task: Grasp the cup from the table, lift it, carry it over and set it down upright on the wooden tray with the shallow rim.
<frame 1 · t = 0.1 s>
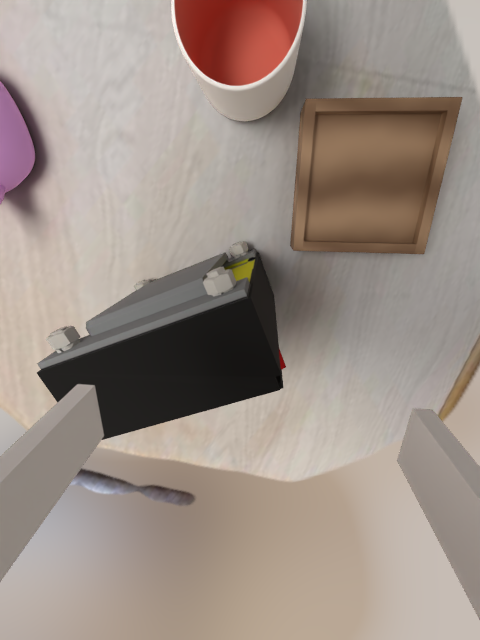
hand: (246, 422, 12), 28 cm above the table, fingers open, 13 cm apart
wooden tray: (356, 185, 33), on the table
cup: (246, 69, 30), on the table
electrical component: (206, 295, 40), on the table
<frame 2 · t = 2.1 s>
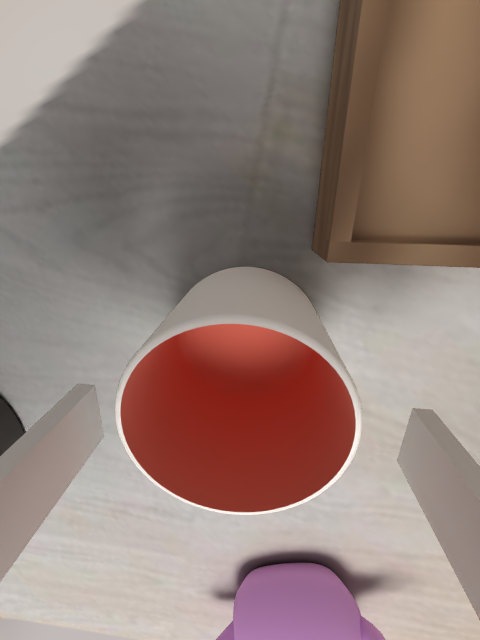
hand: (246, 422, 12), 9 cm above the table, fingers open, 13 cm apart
wooden tray: (458, 121, 15), on the table
cup: (246, 330, 21), on the table
teapot: (299, 588, 32), on the table
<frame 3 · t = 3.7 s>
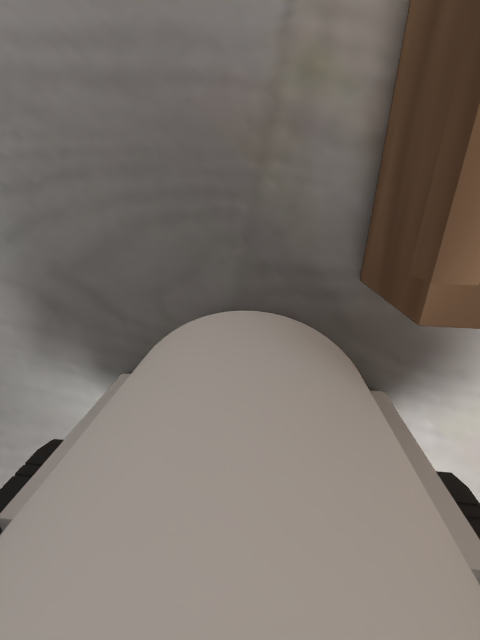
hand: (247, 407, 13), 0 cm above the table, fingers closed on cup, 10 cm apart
cup: (248, 400, 14), on the table, touching gripper
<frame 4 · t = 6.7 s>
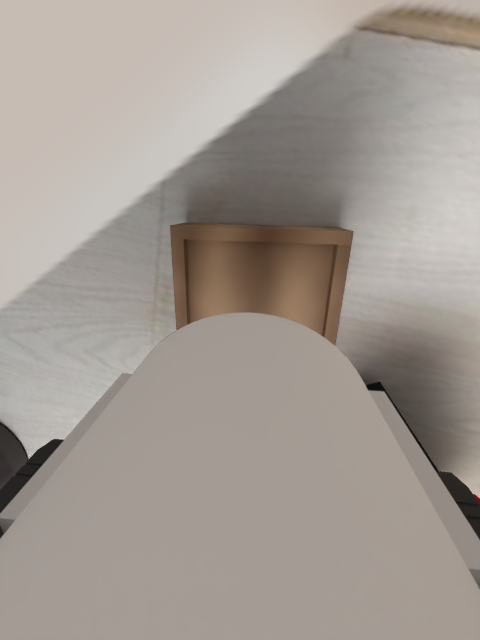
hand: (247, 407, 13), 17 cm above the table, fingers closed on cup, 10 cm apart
wooden tray: (257, 298, 29), on the table
cup: (248, 402, 13), point 16 cm above the table, touching gripper
electrical component: (366, 447, 35), on the table
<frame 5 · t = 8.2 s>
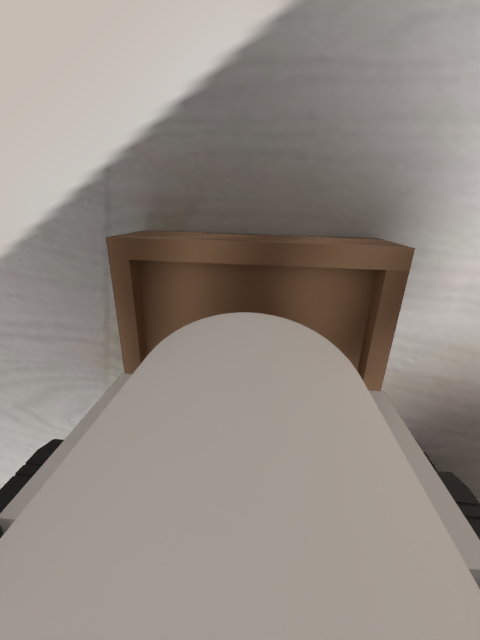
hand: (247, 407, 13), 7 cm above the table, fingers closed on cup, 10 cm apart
wooden tray: (252, 340, 20), on the table
cup: (248, 402, 13), point 7 cm above the table, touching gripper
when the fingers open (6 cm above the table, at t = 9.5 s): cup drops 2 cm, resting on wooden tray.
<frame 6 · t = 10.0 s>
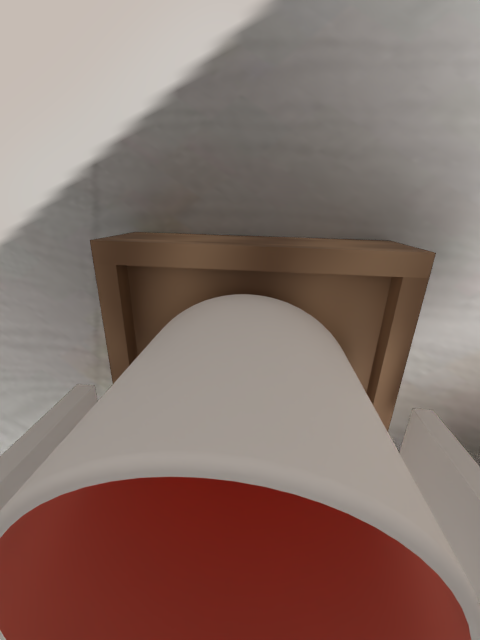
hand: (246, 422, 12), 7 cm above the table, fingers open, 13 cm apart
wooden tray: (253, 349, 18), on the table
cup: (246, 377, 15), point 3 cm above the table, touching wooden tray
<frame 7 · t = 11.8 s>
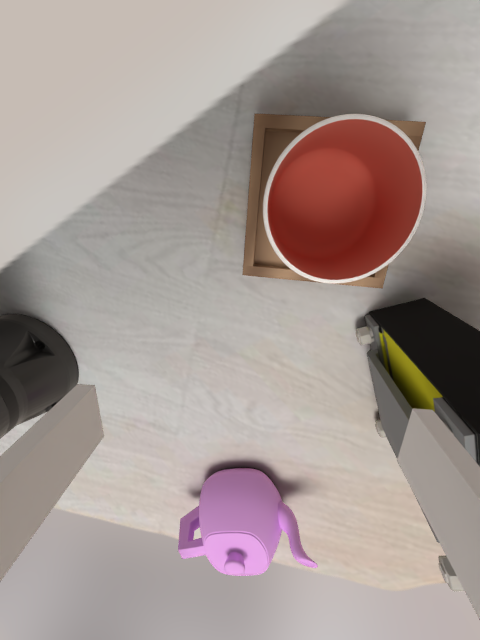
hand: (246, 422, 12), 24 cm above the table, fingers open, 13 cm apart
wooden tray: (316, 207, 31), on the table
cup: (319, 206, 28), point 3 cm above the table, touching wooden tray
teapot: (247, 490, 48), on the table
electrical component: (404, 368, 36), on the table
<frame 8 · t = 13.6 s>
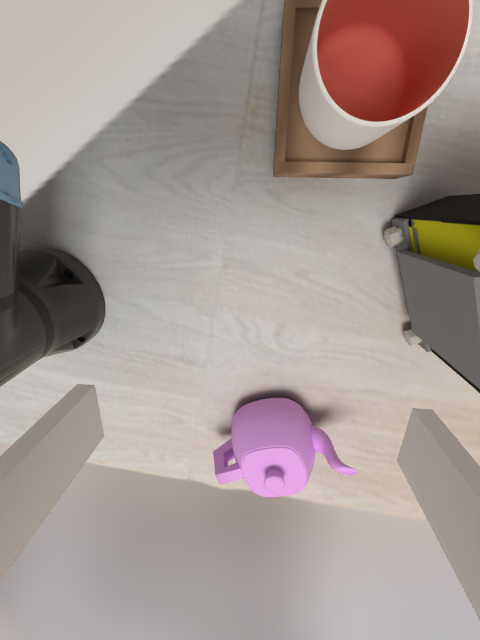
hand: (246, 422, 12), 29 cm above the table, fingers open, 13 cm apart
wooden tray: (342, 106, 31), on the table
cup: (348, 94, 28), point 3 cm above the table, touching wooden tray
teapot: (276, 423, 48), on the table
electrical component: (430, 274, 37), on the table
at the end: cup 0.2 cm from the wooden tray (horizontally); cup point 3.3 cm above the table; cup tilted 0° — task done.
